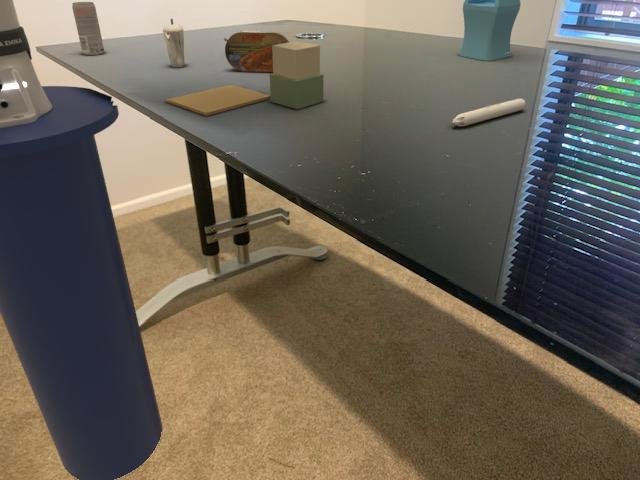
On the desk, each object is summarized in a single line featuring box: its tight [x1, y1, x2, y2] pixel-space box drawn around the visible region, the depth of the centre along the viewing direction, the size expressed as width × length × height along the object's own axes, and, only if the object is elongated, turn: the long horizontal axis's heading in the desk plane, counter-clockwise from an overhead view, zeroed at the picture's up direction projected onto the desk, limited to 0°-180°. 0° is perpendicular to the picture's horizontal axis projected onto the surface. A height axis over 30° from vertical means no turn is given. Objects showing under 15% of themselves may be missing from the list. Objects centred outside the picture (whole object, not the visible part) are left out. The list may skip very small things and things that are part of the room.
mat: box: [166, 84, 271, 117], centre depth 94 cm, size 15×12×1 cm
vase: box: [459, 0, 522, 62], centre depth 125 cm, size 10×10×25 cm
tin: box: [224, 31, 290, 73], centre depth 113 cm, size 15×3×8 cm, turn 82°
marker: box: [452, 98, 526, 128], centre depth 85 cm, size 18×2×2 cm, turn 126°
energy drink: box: [71, 1, 105, 56], centre depth 128 cm, size 5×5×12 cm
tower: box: [269, 40, 325, 110], centre depth 92 cm, size 7×7×10 cm
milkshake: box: [162, 18, 186, 68], centre depth 117 cm, size 5×5×10 cm
